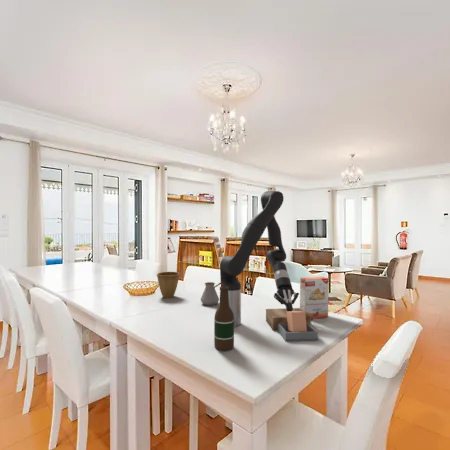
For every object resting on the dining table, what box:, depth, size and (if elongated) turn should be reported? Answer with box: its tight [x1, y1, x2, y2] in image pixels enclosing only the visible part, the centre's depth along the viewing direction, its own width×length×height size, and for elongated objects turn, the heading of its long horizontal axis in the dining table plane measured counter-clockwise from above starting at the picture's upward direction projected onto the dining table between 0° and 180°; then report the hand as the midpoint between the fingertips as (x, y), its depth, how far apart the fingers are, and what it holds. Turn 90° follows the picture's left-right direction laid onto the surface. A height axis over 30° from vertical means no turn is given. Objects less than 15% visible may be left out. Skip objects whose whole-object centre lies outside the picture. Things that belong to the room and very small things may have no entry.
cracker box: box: [299, 276, 330, 320], centre depth 152 cm, size 14×6×21 cm, turn 105°
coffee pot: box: [200, 281, 222, 306], centre depth 180 cm, size 21×12×15 cm, turn 125°
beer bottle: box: [213, 285, 235, 352], centre depth 113 cm, size 8×8×24 cm
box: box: [277, 323, 319, 342], centre depth 125 cm, size 14×12×4 cm
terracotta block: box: [286, 311, 307, 332], centre depth 127 cm, size 6×8×8 cm
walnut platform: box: [265, 307, 312, 332], centre depth 139 cm, size 18×14×6 cm
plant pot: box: [156, 271, 180, 299], centre depth 195 cm, size 15×15×16 cm
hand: (290, 311), depth 135 cm, fingers closed
